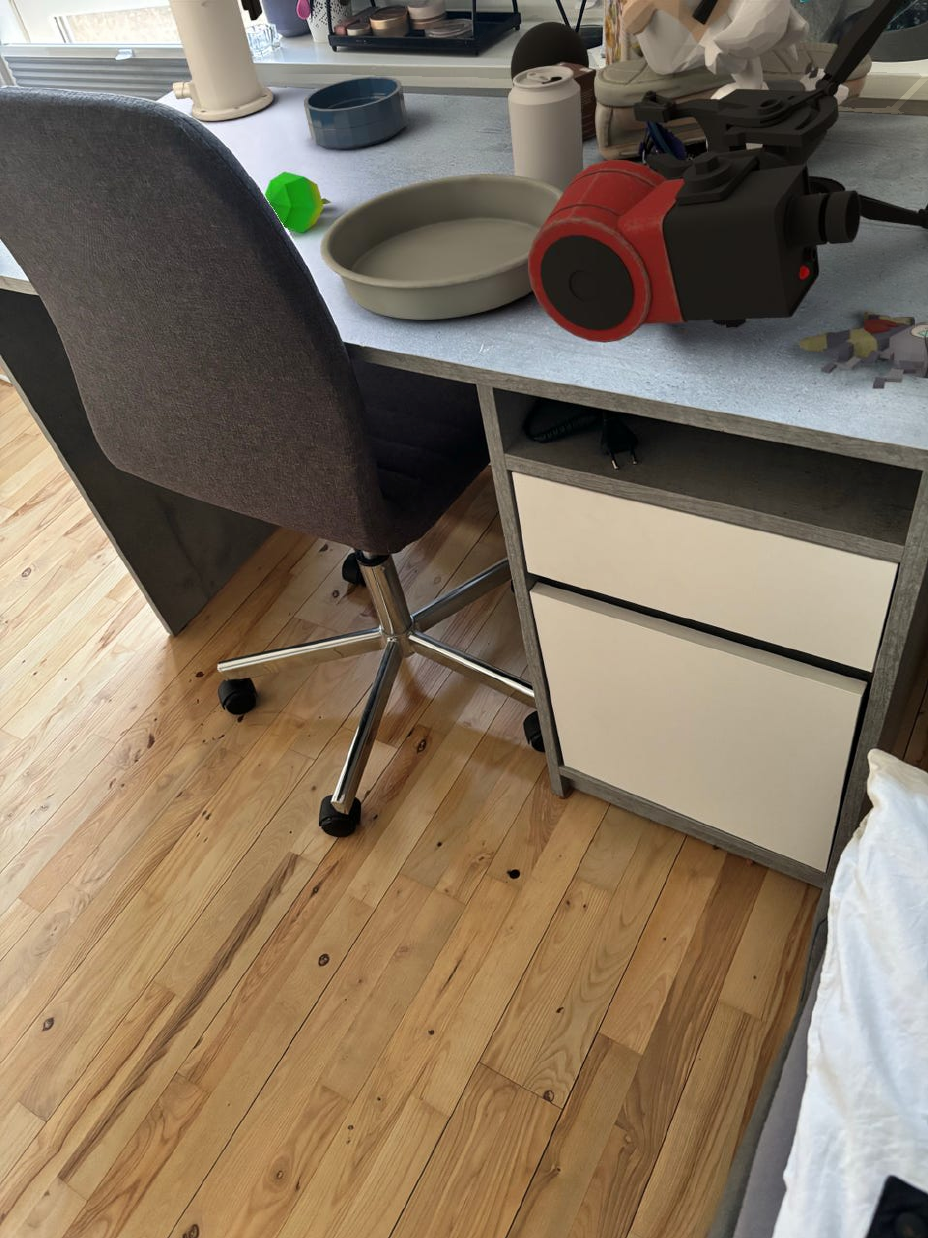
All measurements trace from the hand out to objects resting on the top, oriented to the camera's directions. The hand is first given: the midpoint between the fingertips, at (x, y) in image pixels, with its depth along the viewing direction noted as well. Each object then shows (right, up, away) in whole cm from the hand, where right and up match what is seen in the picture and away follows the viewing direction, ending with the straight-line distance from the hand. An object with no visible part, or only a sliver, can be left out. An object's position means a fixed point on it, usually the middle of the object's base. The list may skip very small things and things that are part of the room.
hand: (301, 10), depth 96 cm
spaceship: (+39, -13, +1) cm, 41 cm away
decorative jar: (+41, -2, +17) cm, 45 cm away
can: (+27, -17, +6) cm, 32 cm away
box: (+29, -4, +18) cm, 35 cm away
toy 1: (+33, 0, -12) cm, 35 cm away
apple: (-5, -18, +5) cm, 19 cm away
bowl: (+3, +2, +29) cm, 29 cm away
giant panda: (+49, -15, +3) cm, 52 cm away
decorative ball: (+29, +3, +25) cm, 38 cm away
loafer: (+46, -3, +3) cm, 46 cm away
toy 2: (+47, -40, -22) cm, 65 cm away
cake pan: (+16, -29, -5) cm, 33 cm away
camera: (+47, -17, -13) cm, 51 cm away
